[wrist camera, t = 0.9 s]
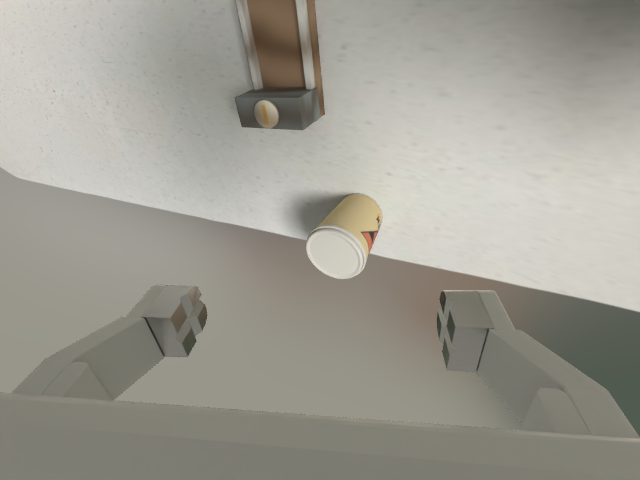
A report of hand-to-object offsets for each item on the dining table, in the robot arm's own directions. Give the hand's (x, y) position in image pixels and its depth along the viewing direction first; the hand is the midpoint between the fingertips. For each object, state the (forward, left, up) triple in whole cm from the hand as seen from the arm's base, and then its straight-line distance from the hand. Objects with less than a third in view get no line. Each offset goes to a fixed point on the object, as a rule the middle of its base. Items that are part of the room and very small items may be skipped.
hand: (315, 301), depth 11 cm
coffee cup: (+25, +2, -38) cm, 46 cm away
